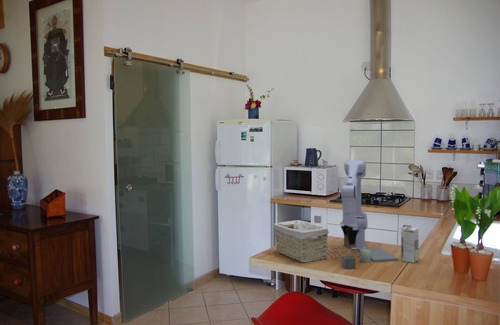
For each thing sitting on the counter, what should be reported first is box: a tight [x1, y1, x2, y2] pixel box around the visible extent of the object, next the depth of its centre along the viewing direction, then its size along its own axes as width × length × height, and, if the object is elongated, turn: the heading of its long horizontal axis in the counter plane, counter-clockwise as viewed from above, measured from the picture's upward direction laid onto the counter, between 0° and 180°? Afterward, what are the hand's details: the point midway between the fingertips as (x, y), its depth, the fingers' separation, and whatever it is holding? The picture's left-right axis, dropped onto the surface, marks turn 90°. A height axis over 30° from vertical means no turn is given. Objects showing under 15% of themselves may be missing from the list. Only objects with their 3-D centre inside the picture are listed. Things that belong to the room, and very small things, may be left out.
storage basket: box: [273, 219, 330, 263], centre depth 186 cm, size 24×16×15 cm
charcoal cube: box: [341, 255, 356, 270], centre depth 167 cm, size 4×4×4 cm
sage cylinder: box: [359, 248, 372, 264], centre depth 174 cm, size 4×4×5 cm
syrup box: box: [400, 226, 420, 264], centre depth 173 cm, size 6×6×14 cm
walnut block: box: [343, 233, 356, 249], centre depth 174 cm, size 4×4×5 cm
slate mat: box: [358, 247, 399, 263], centre depth 182 cm, size 18×11×1 cm, turn 6°
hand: (350, 243), depth 174 cm, fingers closed on walnut block, 4 cm apart
